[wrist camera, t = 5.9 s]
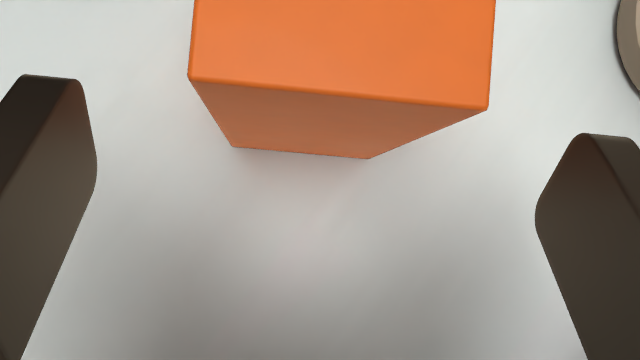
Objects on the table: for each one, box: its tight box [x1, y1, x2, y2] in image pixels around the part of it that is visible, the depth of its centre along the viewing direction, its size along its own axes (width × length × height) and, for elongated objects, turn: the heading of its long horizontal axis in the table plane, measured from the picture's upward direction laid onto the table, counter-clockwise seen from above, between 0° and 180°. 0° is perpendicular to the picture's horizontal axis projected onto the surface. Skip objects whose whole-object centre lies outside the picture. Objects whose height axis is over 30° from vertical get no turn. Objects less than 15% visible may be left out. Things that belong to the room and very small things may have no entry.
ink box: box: [187, 0, 496, 159], centre depth 13 cm, size 4×4×10 cm
